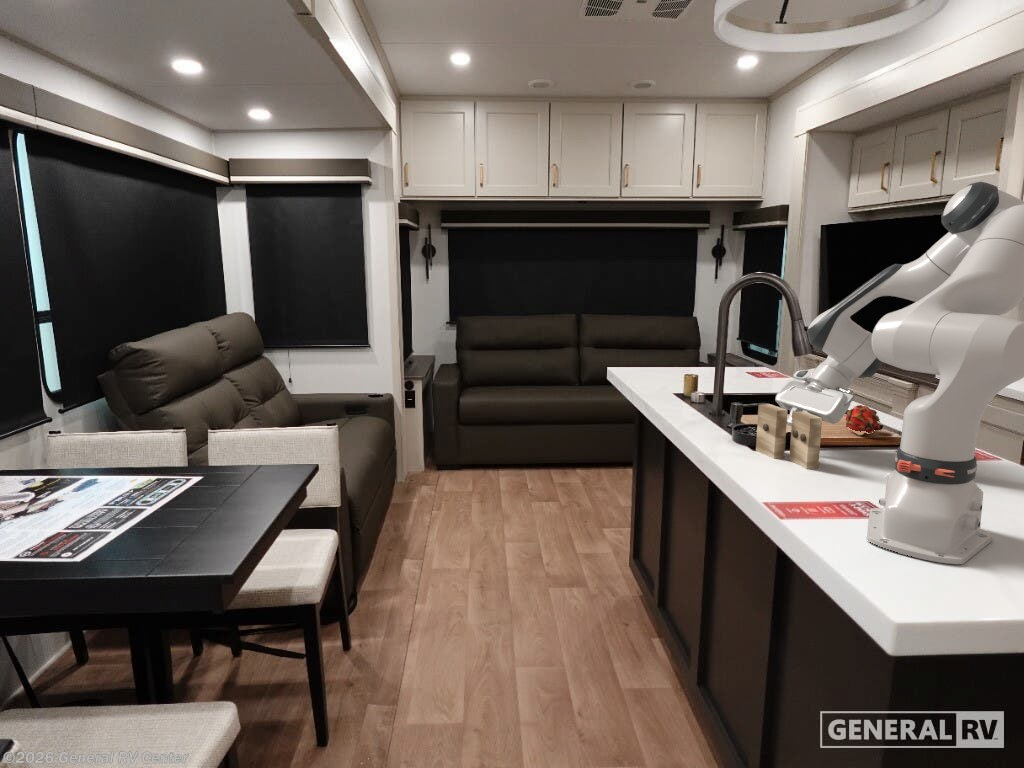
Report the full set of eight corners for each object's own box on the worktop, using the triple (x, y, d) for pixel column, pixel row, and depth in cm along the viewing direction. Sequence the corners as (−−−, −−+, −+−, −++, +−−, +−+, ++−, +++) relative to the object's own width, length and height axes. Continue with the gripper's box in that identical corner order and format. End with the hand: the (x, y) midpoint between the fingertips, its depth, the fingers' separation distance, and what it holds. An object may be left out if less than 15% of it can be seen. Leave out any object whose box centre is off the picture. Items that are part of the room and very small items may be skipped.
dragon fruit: (856, 433, 185) (869, 451, 174) (832, 416, 185) (844, 432, 174) (879, 411, 182) (893, 428, 171) (854, 394, 182) (868, 409, 170)
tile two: (801, 459, 157) (805, 411, 155) (819, 468, 150) (823, 418, 148) (788, 459, 157) (791, 411, 154) (805, 469, 150) (809, 418, 148)
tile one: (766, 449, 165) (769, 403, 163) (785, 457, 159) (788, 409, 157) (754, 450, 164) (757, 404, 162) (772, 458, 158) (776, 411, 156)
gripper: (865, 401, 154) (828, 444, 153) (805, 385, 173) (771, 423, 172) (851, 383, 152) (813, 427, 151) (792, 370, 171) (758, 408, 170)
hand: (790, 425), depth 162 cm, fingers closed
